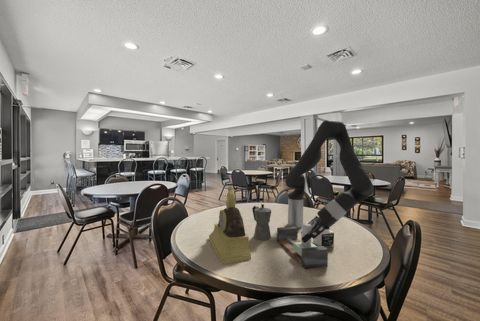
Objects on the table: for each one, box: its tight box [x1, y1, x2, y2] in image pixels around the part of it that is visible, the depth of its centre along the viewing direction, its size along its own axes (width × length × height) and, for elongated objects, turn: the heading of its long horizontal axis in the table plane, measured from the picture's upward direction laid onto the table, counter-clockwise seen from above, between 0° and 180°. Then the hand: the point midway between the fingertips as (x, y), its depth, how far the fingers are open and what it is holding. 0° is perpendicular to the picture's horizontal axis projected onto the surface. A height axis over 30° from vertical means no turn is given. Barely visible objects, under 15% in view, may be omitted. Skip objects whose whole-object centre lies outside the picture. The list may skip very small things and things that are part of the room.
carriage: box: [293, 223, 318, 256], centre depth 93 cm, size 8×8×12 cm
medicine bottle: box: [312, 225, 335, 248], centre depth 107 cm, size 7×7×12 cm
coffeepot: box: [251, 203, 272, 241], centre depth 118 cm, size 15×9×18 cm, turn 33°
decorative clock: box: [208, 185, 252, 265], centre depth 103 cm, size 28×13×30 cm, turn 19°
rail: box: [276, 226, 329, 270], centre depth 99 cm, size 28×10×7 cm, turn 13°
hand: (302, 237), depth 93 cm, fingers open, 7 cm apart
